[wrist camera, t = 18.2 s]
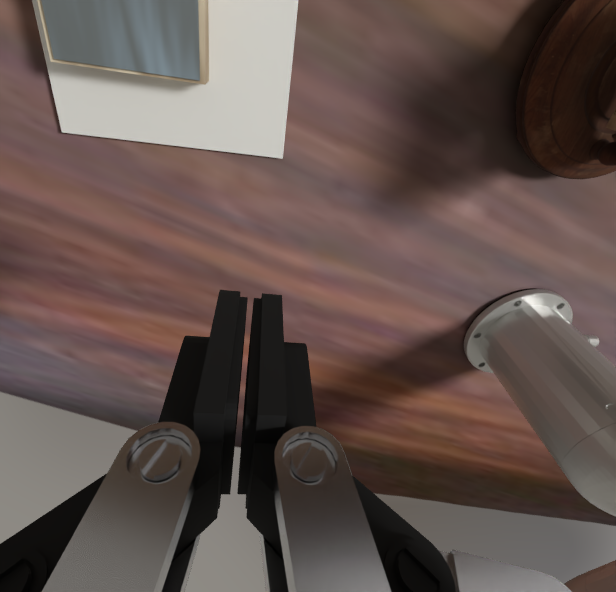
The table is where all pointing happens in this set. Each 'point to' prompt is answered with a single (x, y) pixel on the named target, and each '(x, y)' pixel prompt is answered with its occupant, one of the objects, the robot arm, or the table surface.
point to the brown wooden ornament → (571, 92)
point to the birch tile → (130, 36)
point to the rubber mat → (194, 88)
